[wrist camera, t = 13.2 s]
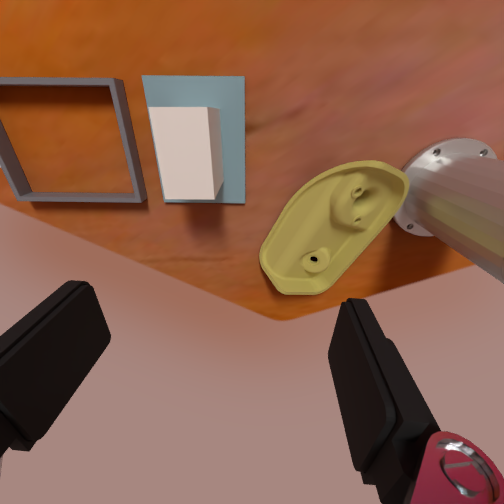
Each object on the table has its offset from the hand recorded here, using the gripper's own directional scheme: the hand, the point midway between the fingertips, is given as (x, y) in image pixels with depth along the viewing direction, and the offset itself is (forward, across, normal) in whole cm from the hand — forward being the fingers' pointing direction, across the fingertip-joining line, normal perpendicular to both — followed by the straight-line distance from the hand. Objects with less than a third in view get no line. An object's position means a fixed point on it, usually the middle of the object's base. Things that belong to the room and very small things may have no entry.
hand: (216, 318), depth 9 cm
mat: (+25, +7, -3) cm, 26 cm away
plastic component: (+26, -10, +7) cm, 29 cm away
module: (+25, +6, -3) cm, 26 cm away
